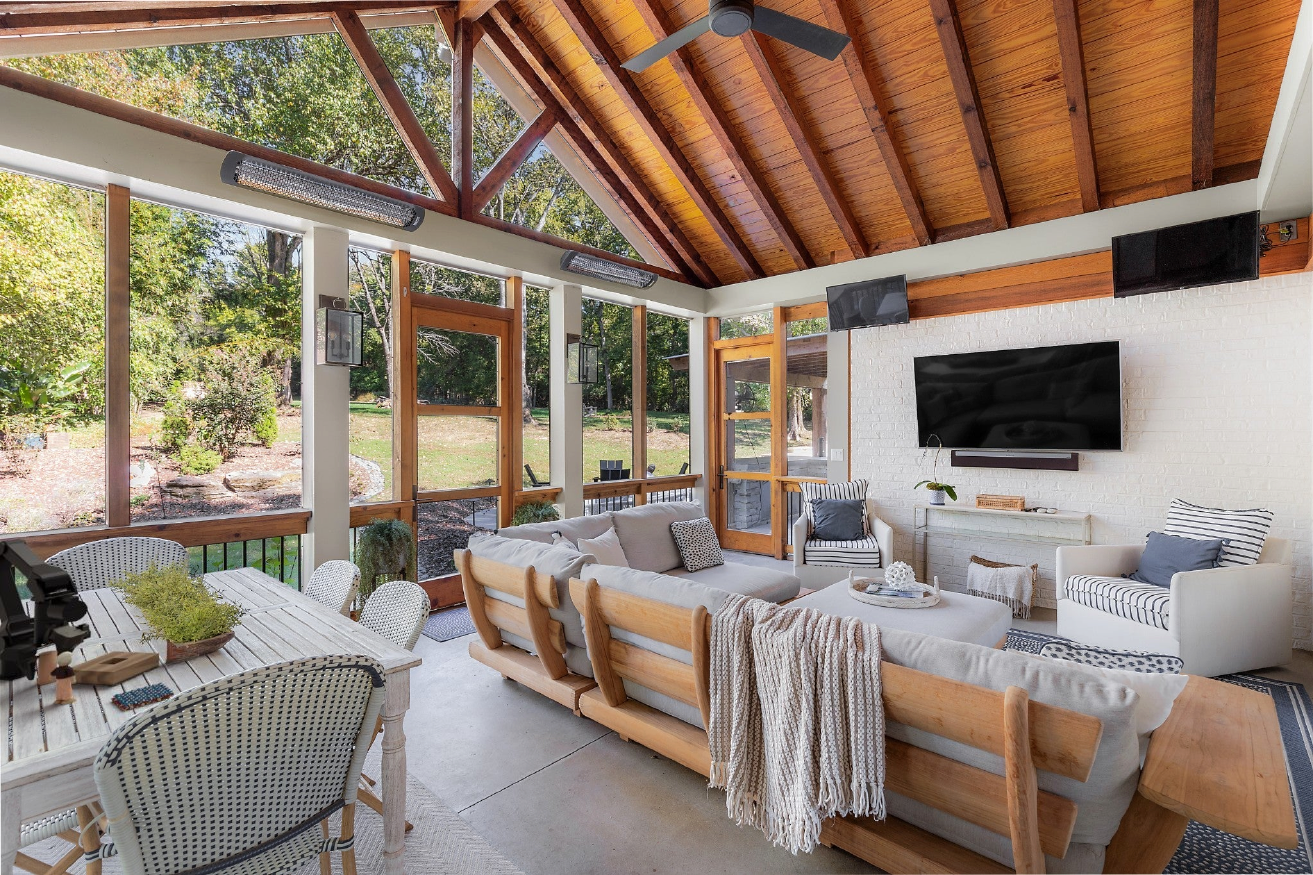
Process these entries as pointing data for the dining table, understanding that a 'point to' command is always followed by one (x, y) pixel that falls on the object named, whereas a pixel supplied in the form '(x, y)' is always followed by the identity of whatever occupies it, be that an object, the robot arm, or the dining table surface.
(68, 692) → the grandmother figurine
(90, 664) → the bore block
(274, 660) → the dining table surface
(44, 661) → the peg
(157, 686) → the woven mat
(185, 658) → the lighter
